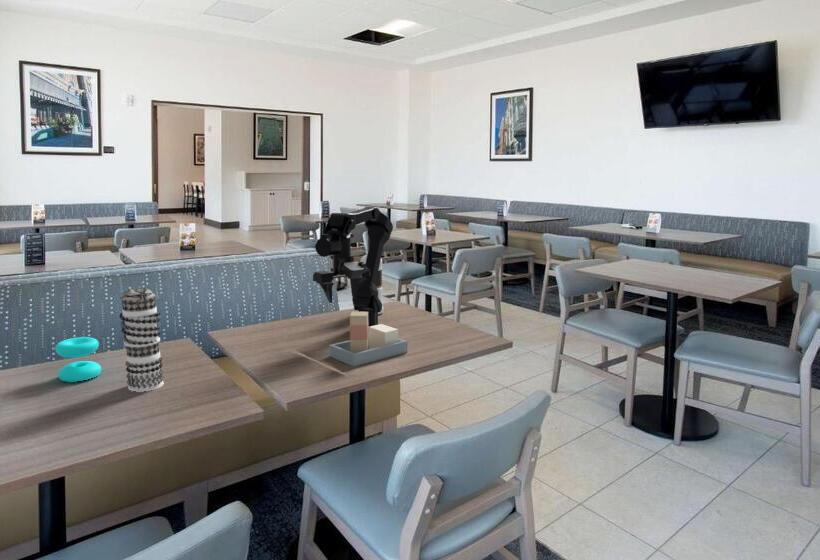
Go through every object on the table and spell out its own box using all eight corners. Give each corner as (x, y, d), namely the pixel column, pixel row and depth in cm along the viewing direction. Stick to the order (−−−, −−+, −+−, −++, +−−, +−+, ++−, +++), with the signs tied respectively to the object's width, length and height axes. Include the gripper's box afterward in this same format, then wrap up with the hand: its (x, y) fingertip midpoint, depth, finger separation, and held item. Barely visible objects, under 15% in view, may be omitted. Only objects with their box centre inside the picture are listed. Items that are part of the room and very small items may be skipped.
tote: (382, 344, 184) (382, 332, 183) (407, 353, 175) (407, 341, 175) (329, 358, 171) (329, 345, 170) (353, 368, 162) (353, 354, 162)
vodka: (383, 315, 221) (383, 237, 215) (359, 315, 220) (358, 237, 215) (383, 309, 230) (383, 234, 224) (360, 310, 229) (359, 234, 224)
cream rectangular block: (381, 345, 181) (381, 324, 180) (398, 351, 175) (398, 329, 174) (368, 348, 178) (368, 326, 177) (385, 355, 172) (385, 332, 171)
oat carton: (352, 353, 173) (351, 311, 171) (368, 353, 173) (368, 311, 171) (350, 359, 168) (349, 315, 166) (367, 359, 168) (366, 315, 166)
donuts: (54, 339, 154) (96, 333, 160) (58, 375, 156) (99, 368, 161) (55, 349, 146) (100, 342, 151) (59, 386, 148) (103, 379, 153)
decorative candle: (151, 393, 143) (143, 295, 139) (118, 391, 145) (108, 293, 140) (172, 380, 152) (165, 287, 148) (140, 378, 154) (132, 286, 149)
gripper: (331, 258, 172) (332, 309, 175) (380, 252, 185) (380, 300, 188) (311, 254, 181) (312, 303, 184) (359, 249, 193) (360, 295, 196)
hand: (342, 300), depth 187 cm, fingers open, 9 cm apart
